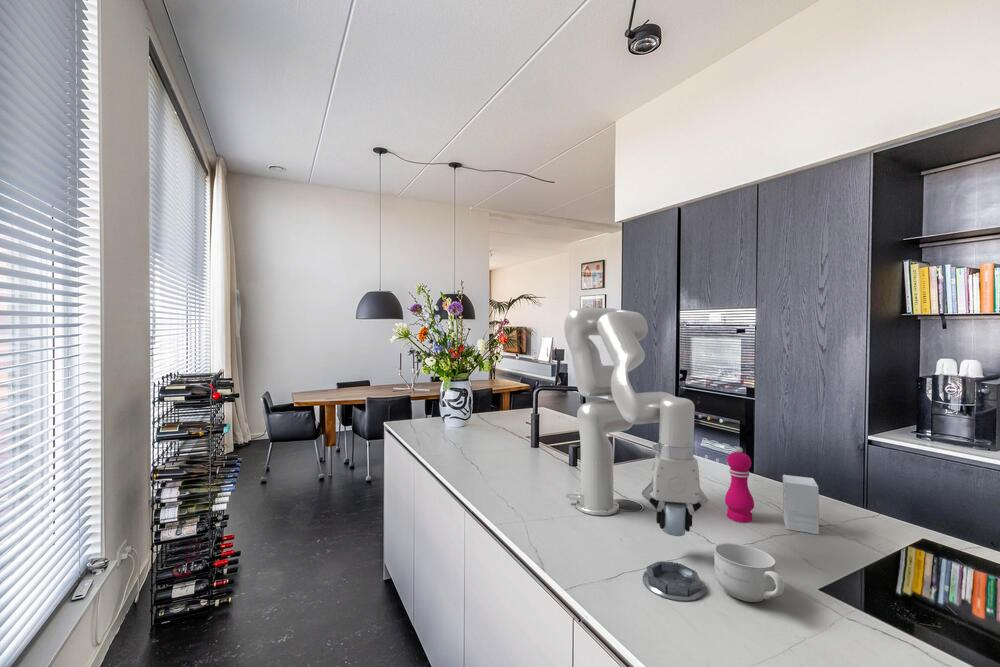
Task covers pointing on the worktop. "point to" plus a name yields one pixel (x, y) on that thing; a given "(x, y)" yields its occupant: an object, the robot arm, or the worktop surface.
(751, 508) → the pepper mill
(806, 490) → the supplement box
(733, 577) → the teacup
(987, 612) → the worktop surface
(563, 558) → the worktop surface
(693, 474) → the robot arm
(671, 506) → the grey domed cylinder
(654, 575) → the faceted metallic bowl
